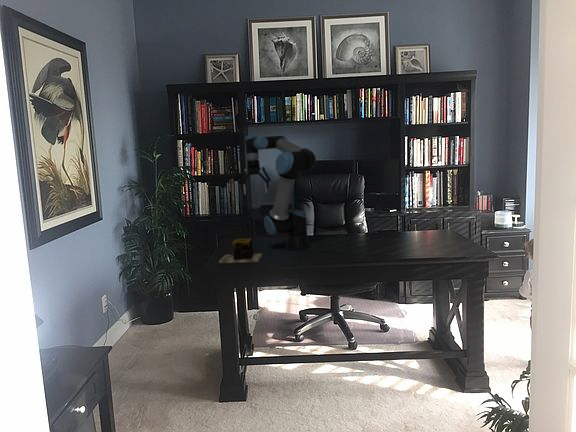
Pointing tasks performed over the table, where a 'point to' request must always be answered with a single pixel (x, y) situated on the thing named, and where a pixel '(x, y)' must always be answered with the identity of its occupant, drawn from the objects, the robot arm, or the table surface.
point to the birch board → (230, 259)
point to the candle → (242, 249)
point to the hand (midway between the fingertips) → (255, 193)
